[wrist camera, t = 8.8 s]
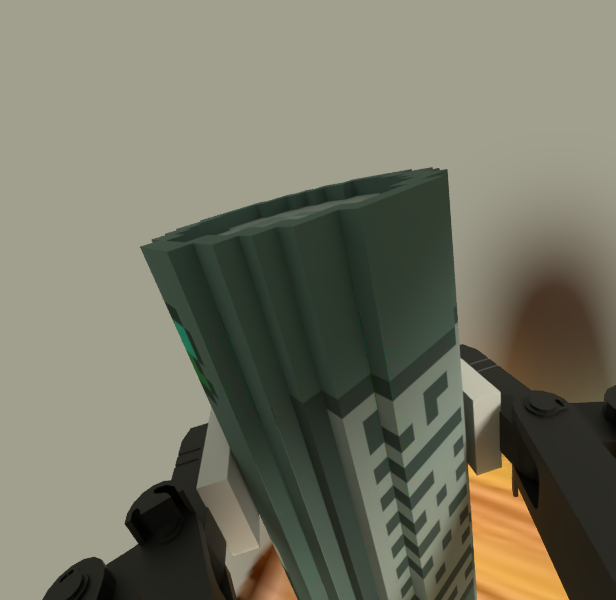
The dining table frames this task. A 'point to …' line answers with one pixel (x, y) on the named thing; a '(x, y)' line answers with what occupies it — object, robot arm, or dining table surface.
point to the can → (337, 378)
